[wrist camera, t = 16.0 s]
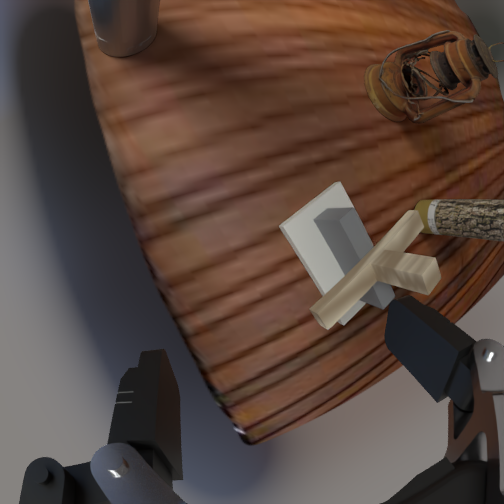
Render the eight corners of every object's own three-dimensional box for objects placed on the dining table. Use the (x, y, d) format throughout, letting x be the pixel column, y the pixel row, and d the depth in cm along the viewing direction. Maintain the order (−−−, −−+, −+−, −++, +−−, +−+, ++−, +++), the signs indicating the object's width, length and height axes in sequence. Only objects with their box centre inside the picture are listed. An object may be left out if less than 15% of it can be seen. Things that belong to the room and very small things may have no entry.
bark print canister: (430, 232, 53) (531, 243, 29) (411, 233, 51) (523, 245, 27) (430, 201, 52) (532, 202, 28) (411, 198, 50) (523, 198, 26)
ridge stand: (278, 226, 41) (306, 228, 34) (334, 182, 43) (367, 177, 36) (338, 322, 47) (368, 338, 39) (382, 278, 49) (414, 286, 41)
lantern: (414, 136, 49) (539, 114, 21) (370, 124, 45) (517, 83, 17) (401, 67, 47) (508, 27, 19) (357, 49, 43) (473, -14, 15)
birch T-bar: (309, 309, 35) (365, 340, 25) (408, 210, 39) (466, 211, 29) (319, 324, 36) (375, 358, 25) (414, 226, 40) (471, 230, 30)
